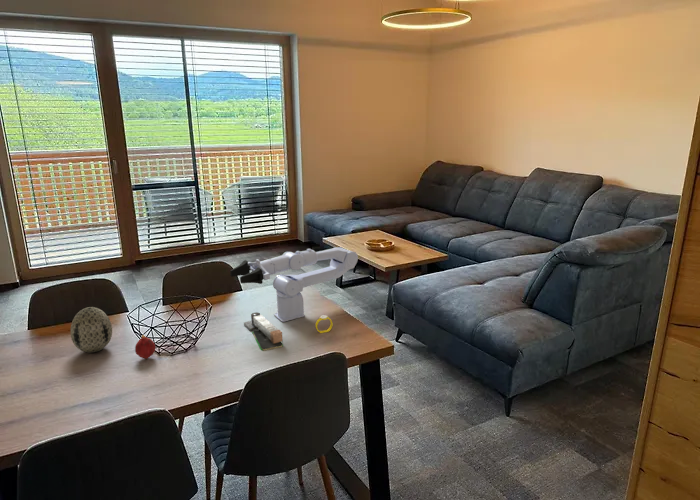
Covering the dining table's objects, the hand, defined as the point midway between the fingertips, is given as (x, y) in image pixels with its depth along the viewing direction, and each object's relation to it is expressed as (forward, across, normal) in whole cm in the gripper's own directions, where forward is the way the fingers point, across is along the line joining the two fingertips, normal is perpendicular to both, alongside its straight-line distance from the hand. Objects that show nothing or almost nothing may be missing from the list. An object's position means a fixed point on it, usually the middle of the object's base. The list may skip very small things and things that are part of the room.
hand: (235, 276), depth 161 cm
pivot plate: (-6, +1, +21) cm, 21 cm away
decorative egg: (+44, -16, +19) cm, 51 cm away
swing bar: (-5, +9, +19) cm, 22 cm away
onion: (+33, 0, +19) cm, 38 cm away
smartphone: (-3, +13, +21) cm, 24 cm away
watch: (-22, +20, +21) cm, 36 cm away
